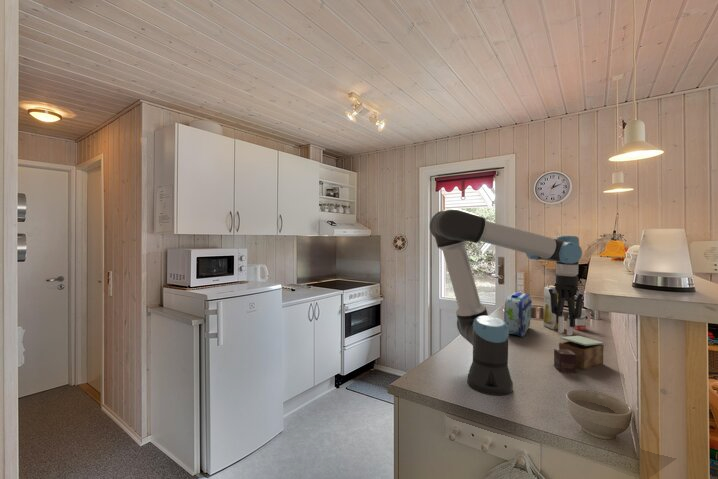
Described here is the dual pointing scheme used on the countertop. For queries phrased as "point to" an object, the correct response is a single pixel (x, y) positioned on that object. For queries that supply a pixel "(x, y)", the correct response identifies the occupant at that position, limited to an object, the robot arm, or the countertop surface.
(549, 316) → the juice carton
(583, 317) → the ink box
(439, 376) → the countertop surface
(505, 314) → the lunch box
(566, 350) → the box
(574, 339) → the lid
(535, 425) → the countertop surface
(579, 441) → the countertop surface
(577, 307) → the robot arm
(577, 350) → the crate
